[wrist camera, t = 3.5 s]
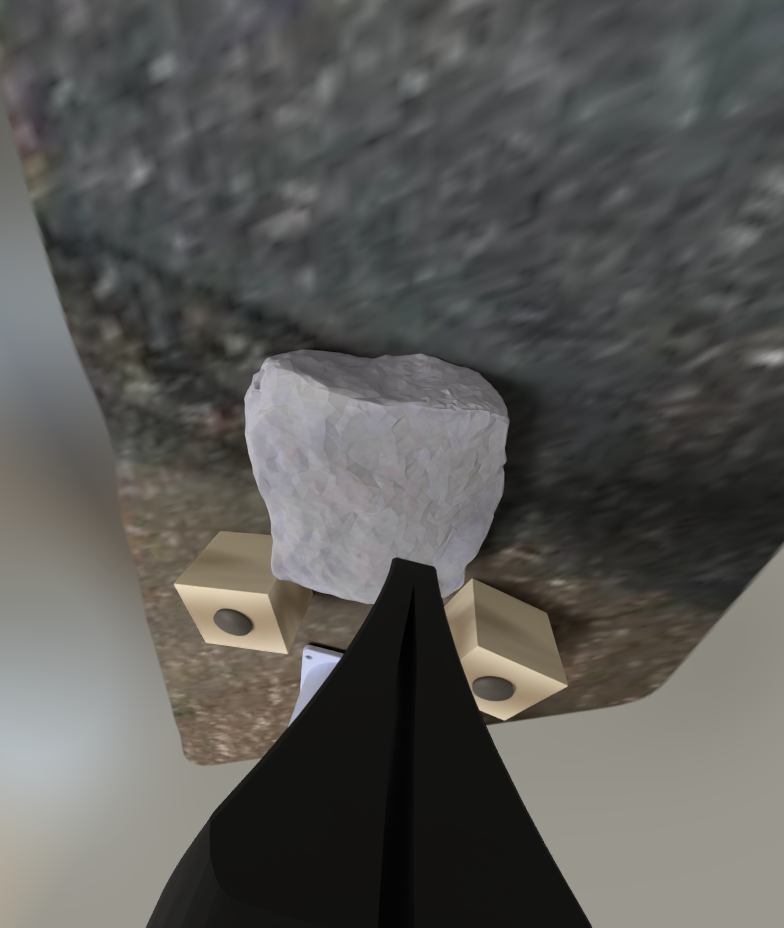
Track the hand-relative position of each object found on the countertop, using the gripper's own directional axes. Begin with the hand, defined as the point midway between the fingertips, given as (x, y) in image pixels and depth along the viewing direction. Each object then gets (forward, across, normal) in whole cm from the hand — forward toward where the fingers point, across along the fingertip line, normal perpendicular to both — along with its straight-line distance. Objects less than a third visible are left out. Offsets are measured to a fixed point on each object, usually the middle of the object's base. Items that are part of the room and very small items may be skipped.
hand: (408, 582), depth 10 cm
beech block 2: (+6, -6, +9) cm, 12 cm away
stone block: (+6, +2, 0) cm, 7 cm away
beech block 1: (+6, +8, +9) cm, 13 cm away
